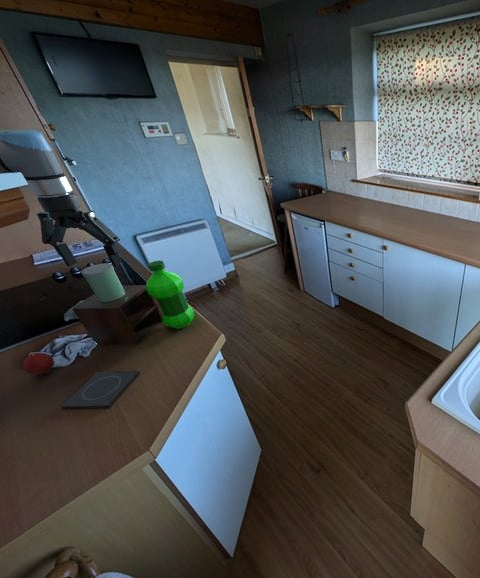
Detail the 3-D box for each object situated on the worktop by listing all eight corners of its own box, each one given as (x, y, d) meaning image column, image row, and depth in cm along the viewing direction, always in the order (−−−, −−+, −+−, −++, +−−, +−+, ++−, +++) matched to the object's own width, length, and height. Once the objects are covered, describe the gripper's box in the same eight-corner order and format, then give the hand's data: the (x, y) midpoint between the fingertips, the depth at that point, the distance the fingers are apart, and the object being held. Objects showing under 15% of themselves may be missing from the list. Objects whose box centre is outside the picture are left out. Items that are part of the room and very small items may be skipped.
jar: (91, 302, 93) (74, 274, 88) (109, 290, 99) (94, 263, 94) (115, 302, 93) (99, 274, 88) (131, 290, 100) (117, 263, 94)
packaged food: (111, 304, 118) (105, 294, 116) (93, 322, 108) (85, 311, 106) (87, 306, 117) (80, 296, 114) (65, 325, 107) (58, 314, 104)
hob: (62, 409, 77) (60, 406, 76) (98, 374, 87) (97, 371, 87) (109, 407, 77) (107, 405, 77) (140, 373, 88) (138, 370, 87)
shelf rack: (96, 345, 98) (71, 308, 90) (126, 319, 110) (106, 285, 102) (138, 344, 98) (118, 307, 91) (164, 319, 110) (148, 285, 102)
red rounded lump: (27, 377, 86) (9, 357, 82) (51, 363, 90) (36, 344, 86) (40, 382, 84) (23, 362, 80) (64, 368, 89) (49, 348, 85)
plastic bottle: (159, 333, 103) (128, 270, 90) (176, 315, 112) (150, 256, 99) (188, 333, 103) (161, 270, 91) (203, 315, 112) (180, 256, 100)
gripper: (113, 190, 83) (144, 258, 94) (22, 191, 82) (64, 259, 93) (91, 197, 76) (128, 269, 87) (-8, 198, 76) (41, 270, 87)
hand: (95, 264), depth 90 cm, fingers open, 13 cm apart
